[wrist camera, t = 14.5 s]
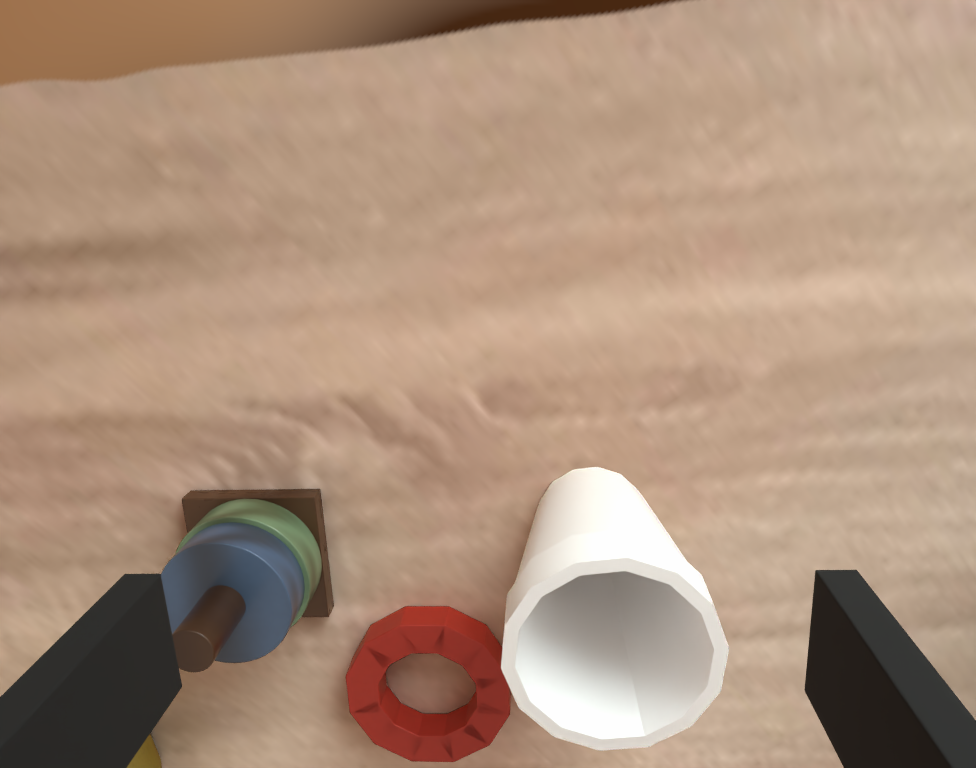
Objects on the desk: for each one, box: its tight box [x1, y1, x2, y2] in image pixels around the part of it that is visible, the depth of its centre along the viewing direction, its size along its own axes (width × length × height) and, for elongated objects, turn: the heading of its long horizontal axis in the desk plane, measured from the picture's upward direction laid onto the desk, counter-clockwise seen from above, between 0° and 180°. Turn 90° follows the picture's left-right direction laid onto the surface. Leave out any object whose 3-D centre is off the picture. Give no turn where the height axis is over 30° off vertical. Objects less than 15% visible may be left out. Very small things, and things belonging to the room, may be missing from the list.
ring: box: [346, 606, 511, 762], centre depth 46 cm, size 10×10×2 cm
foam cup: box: [501, 467, 729, 751], centre depth 37 cm, size 10×9×13 cm
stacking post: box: [161, 489, 334, 672], centre depth 40 cm, size 8×8×10 cm
